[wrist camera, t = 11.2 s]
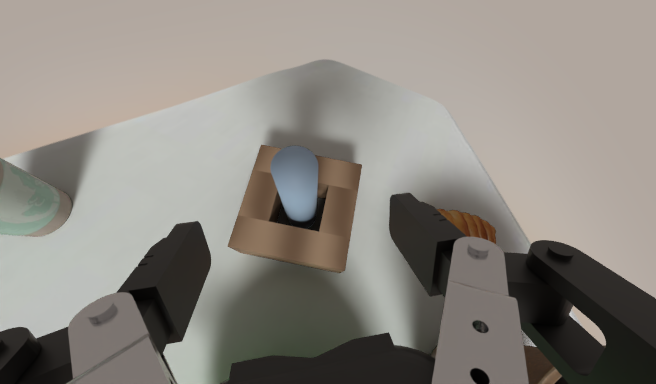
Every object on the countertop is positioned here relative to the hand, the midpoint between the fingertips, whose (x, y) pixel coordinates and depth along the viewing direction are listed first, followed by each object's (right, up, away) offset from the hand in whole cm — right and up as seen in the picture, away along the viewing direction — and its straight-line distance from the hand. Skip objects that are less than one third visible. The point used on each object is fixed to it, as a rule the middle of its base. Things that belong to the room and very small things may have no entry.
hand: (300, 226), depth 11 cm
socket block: (-2, -1, +22) cm, 22 cm away
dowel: (-2, -1, +22) cm, 22 cm away
